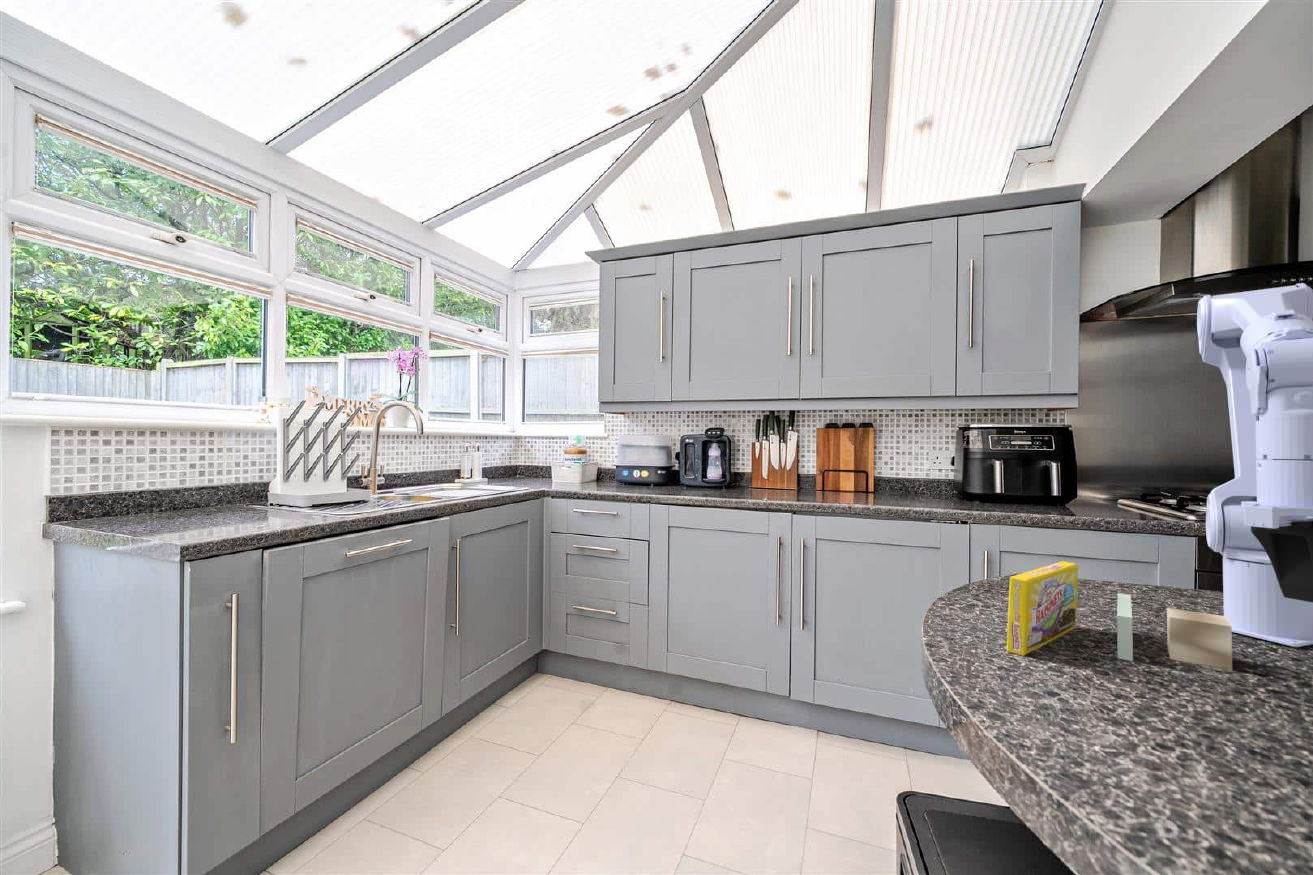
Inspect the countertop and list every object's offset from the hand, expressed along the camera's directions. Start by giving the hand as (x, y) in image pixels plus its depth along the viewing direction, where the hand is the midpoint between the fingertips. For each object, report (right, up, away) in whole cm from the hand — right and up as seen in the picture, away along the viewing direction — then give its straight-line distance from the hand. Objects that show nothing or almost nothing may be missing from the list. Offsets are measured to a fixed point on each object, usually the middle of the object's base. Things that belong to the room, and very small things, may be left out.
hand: (1302, 599), depth 52 cm
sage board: (-10, -8, +9) cm, 15 cm away
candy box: (-18, -8, +10) cm, 22 cm away
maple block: (-5, -8, +5) cm, 11 cm away
